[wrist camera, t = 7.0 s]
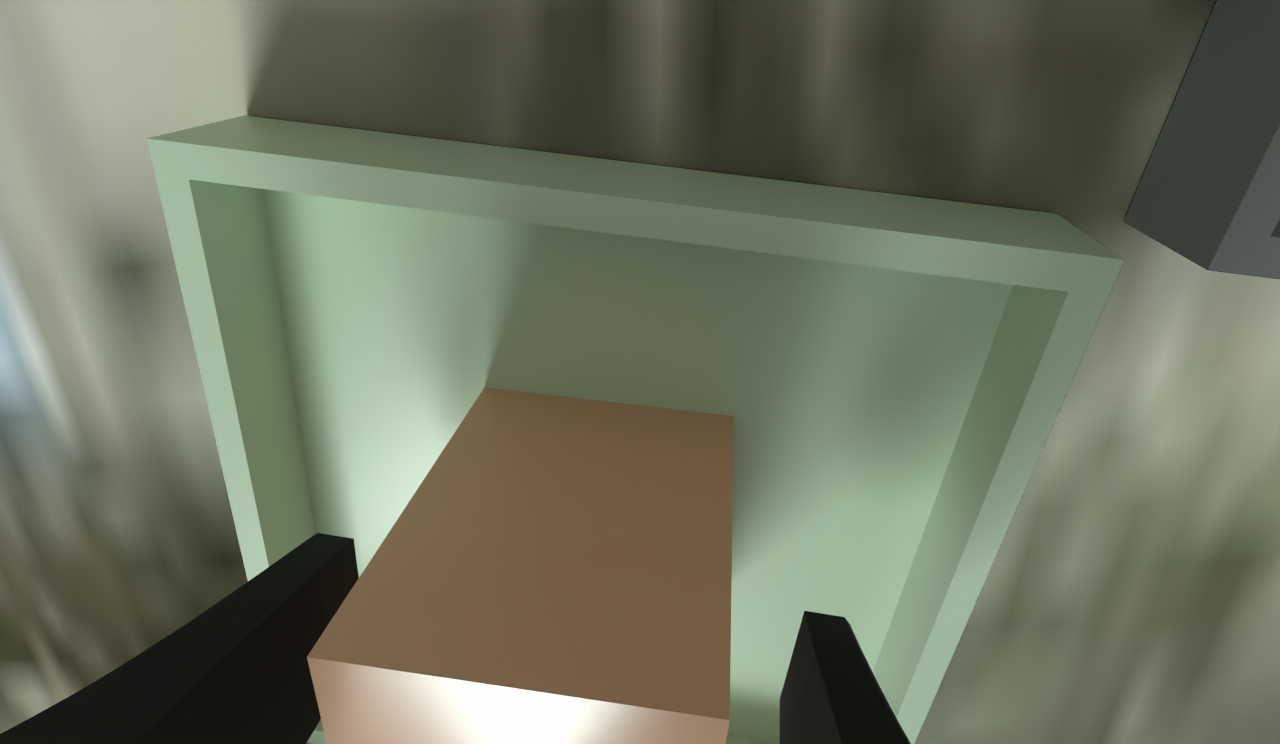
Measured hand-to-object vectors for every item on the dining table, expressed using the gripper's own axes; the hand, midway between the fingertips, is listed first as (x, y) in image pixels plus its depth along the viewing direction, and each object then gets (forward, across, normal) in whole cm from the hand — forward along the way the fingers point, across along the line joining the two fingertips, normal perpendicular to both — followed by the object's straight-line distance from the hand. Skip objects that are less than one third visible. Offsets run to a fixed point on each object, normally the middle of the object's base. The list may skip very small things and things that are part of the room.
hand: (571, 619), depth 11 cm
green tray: (+3, 0, 0) cm, 3 cm away
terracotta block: (+3, 0, 0) cm, 3 cm away
